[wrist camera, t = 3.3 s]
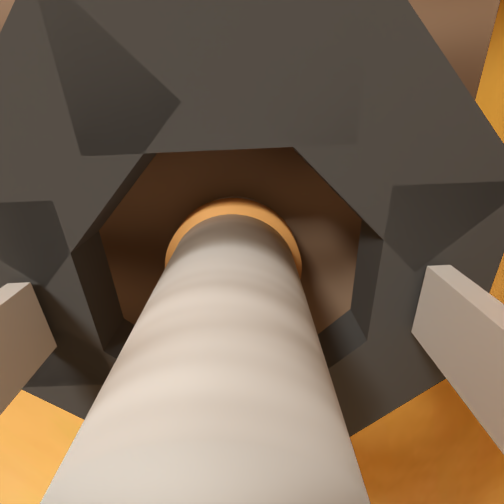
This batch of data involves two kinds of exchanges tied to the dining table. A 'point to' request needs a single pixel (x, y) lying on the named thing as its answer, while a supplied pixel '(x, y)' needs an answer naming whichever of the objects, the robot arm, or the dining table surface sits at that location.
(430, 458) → the dining table surface
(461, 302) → the robot arm
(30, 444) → the dining table surface
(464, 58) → the pipe stand
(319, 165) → the ring
